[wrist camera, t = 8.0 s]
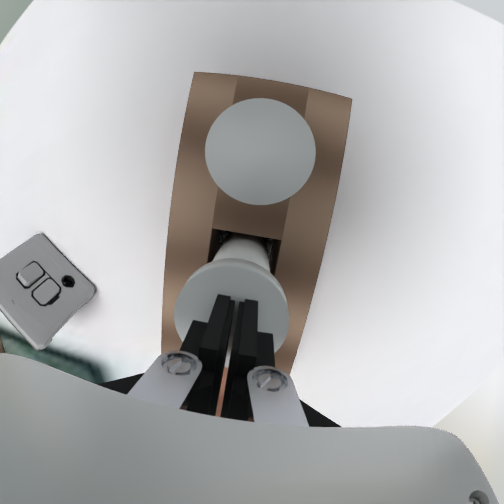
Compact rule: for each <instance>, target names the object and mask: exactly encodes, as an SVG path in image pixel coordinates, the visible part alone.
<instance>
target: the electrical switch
mask: <svg viewBox="0 0 504 504" xmlns="http://www.w3.org/2000/svg"><path fill="white" fill-rule="evenodd" d="M94 290H95V288H94V286H93V285H92V284H91V283H90V282H89V281H88V280H87V279H86V278H85V277H84V276H83V275H82V274H81V273H80V272H79V271H78V270H77V269H76V268H75V267H74V266H73V265H72V264H71V263H70V262H69V261H68V260H67V259H66V258H65V257H64V256H63V255H62V254H61V253H60V252H59V251H58V250H57V249H56V248H55V247H54V246H53V245H52V244H51V243H50V242H49V241H48V239H47V238H46V237H45V236H44V235H42V234H36V235H35V236H33V237H32V238H30V239H29V240H27V241H26V242H24V243H23V244H21V245H20V246H18V247H17V248H15V249H14V250H12V251H11V252H10V253H8V254H7V255H5V256H4V257H3V258H1V259H0V311H1V312H2V313H3V314H4V316H5V317H6V318H7V319H8V320H9V322H10V323H11V324H12V325H13V326H14V327H15V328H16V329H17V331H18V332H19V333H20V334H21V335H22V336H23V337H24V338H25V339H26V340H27V341H28V342H29V343H30V344H31V346H32V347H33V348H34V349H35V350H36V351H37V352H38V349H39V351H40V349H45V347H46V346H47V345H48V344H49V343H50V342H51V341H52V337H53V336H54V335H55V334H56V333H57V332H58V331H59V330H60V329H61V328H62V326H63V325H64V324H65V323H66V322H67V321H68V320H69V319H70V318H71V317H72V316H73V315H74V314H75V313H76V312H77V311H78V310H79V309H80V308H81V307H82V306H83V305H84V304H85V303H87V302H88V301H89V300H90V299H91V298H92V297H93V295H94Z"/></svg>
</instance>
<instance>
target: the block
mask: <svg viewBox="0 0 504 504" xmlns="http://www.w3.org/2000/svg"><path fill="white" fill-rule="evenodd" d="M254 98H266V99H272V100H277V101H279V102H282V103H284V104H286V105H288V106H290V107H291V108H293V109H294V110H296V111H297V112H298V113H299V114H300V115H301V116H302V117H303V118H304V120H305V121H306V122H307V124H308V126H309V127H310V129H311V132H312V134H313V137H314V141H315V147H316V156H315V163H314V167H313V170H312V172H311V175H310V176H309V178H308V180H307V181H306V183H305V184H304V185H303V187H302V188H301V189H300V190H299V191H298V192H296V193H295V194H294V195H292V196H291V197H289V198H287V199H285V200H283V201H281V202H278V203H274V204H269V205H252V204H247V203H243V202H241V201H238V200H236V199H234V198H232V197H230V196H229V195H228V194H226V193H225V192H224V191H223V190H222V189H220V188H219V186H218V185H217V184H216V183H215V181H214V180H213V178H212V177H211V174H210V172H209V170H208V167H207V164H206V158H205V145H206V139H207V135H208V133H209V130H210V128H211V126H212V125H213V123H214V121H215V120H216V119H217V117H218V116H219V115H220V114H221V113H222V112H224V111H225V110H226V109H227V108H229V107H230V106H232V105H234V104H236V103H238V102H241V101H244V100H247V99H254ZM351 104H352V99H351V98H347V97H344V96H340V95H337V94H333V93H329V92H325V91H321V90H317V89H313V88H308V87H304V86H299V85H294V84H289V83H284V82H278V81H273V80H266V79H260V78H253V77H246V76H238V75H229V74H218V73H206V72H194V75H193V80H192V84H191V89H190V93H189V98H188V103H187V108H186V113H185V118H184V123H183V128H182V134H181V140H180V145H179V151H178V158H177V164H176V171H175V178H174V185H173V192H172V200H171V208H170V217H169V226H168V236H167V247H166V259H165V272H164V288H163V307H162V341H161V354H162V353H165V352H167V351H173V350H178V351H179V350H180V348H181V345H182V343H183V342H182V340H181V338H180V337H179V335H178V332H177V330H176V326H175V322H174V307H175V303H176V300H177V297H178V295H179V293H180V291H181V290H182V288H183V287H184V285H185V284H186V282H187V281H188V279H189V278H190V276H191V275H192V274H193V273H194V272H195V271H196V270H198V269H199V268H200V267H202V266H203V265H205V264H207V263H210V262H212V261H213V259H214V257H215V255H216V253H217V252H218V248H219V241H220V234H221V230H226V231H232V232H237V233H243V234H249V235H255V236H261V237H266V238H272V239H273V244H272V249H271V254H270V259H269V266H270V273H271V274H272V275H273V276H274V277H275V278H276V279H277V281H278V282H279V283H280V285H281V287H282V289H283V291H284V293H285V297H286V301H287V306H288V311H289V329H288V333H287V336H286V338H285V340H284V342H283V344H282V345H281V347H280V348H279V349H278V350H277V351H276V352H275V353H274V356H275V367H276V368H279V369H281V370H283V371H285V372H286V373H287V374H288V375H290V372H291V368H292V365H293V362H294V359H295V356H296V353H297V349H298V346H299V343H300V339H301V336H302V333H303V329H304V326H305V322H306V319H307V315H308V312H309V308H310V304H311V301H312V297H313V293H314V289H315V286H316V282H317V278H318V274H319V270H320V266H321V262H322V258H323V253H324V249H325V245H326V241H327V236H328V232H329V227H330V223H331V218H332V214H333V209H334V204H335V199H336V194H337V189H338V184H339V179H340V173H341V168H342V162H343V156H344V151H345V145H346V138H347V132H348V125H349V119H350V112H351Z"/></svg>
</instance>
